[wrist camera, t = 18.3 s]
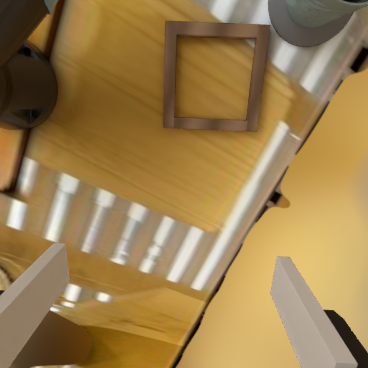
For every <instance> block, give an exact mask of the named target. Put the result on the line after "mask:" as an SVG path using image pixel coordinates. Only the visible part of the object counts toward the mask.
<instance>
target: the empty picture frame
mask: <svg viewBox="0 0 368 368" xmlns="http://www.w3.org/2000/svg"><path fill="white" fill-rule="evenodd" d="M269 32H270V25H260V24H234V23H208V22H182V21H165V72H164V126H163V127H164V128H185V129H206V130H227V131H248V132H257V125H258V117H259V110H260V102H261V94H262V86H263V79H264V71H265V63H266V55H267V48H268V40H269ZM177 36H182V37H207V38H232V39H255V48H254V57H253V65H252V74H251V83H250V91H249V100H248V109H247V118H246V120H224V119H203V118H182V117H174V115H175V82H176V50H177Z"/></svg>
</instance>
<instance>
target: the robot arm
mask: <svg viewBox="0 0 368 368" xmlns="http://www.w3.org/2000/svg"><path fill="white" fill-rule="evenodd" d="M57 1H58V0H0V128H4V129H10V130H21V129H28V128H33V127H35V126H38V125H40V124H41V123H43V122H44V121H45V120H46V119H47V118H48V117H49V116H50V114H51V113H52V111H53V109H54V107H55V104H56V100H57V82H56V78H55V74H54V71H53V69H52V67H51V65H50V63H49V61H48V60H47V58H46V57H45V56H44V54H43V53H42V52H41V51H40V50H39V49H38V48H37V47H36V46H35V45H33V44H32V43H31V42H29V41H27V39H28V38H29V37H30V35H31V34H32V33H33V32H34V30H35V29H36V28H37V27H38V25H39V24H40V23H41V22H42V20H43V19H44V18H45V17H46V15H47V14H49V15H51V14H52V12H53V7H54V5H55V4H56V3H57ZM69 281H70V279H69V270H68V261H67V252H66V244H57V243H53V244H52V245H51V246H50V247H49V248H48V249H47V250H46V251H45V252H44V253H43V254H42V255H41V256H40V257H39V258H38V259H37V260H36V261H35V262H34V263H33V264H32V265H31V266H30V267H29V268H28V269H27V270H26V271H25V272H24V273H23V274H22V275H21V276H20V277H19V278H18V279H17V280H16V281H15V282H14V283H13V284H12V285H10V286H9V287H8V288H7V289H6V290H5V291H3V290H0V368H9V366H10V365H11V363H12V362H13V360H14V359H15V358H16V356H17V355H18V353H19V352H20V351H21V349H22V348H23V346H24V345H25V344H26V342H27V341H28V339H29V338H30V336H31V335H32V334H33V332H34V331H35V329H36V328H37V327H38V325H39V324H40V322H41V321H42V319H43V318H44V317H45V315H46V314H47V312H48V311H49V310H50V308H51V307H52V305H53V304H54V302H55V301H56V300H57V298H58V297H59V295H60V294H61V293H62V291H63V290H64V288H65V287H66V285H67V284H68V283H69ZM270 294H271V296H272V298H273V301H274V303H275V306H276V308H277V310H278V313H279V315H280V318H281V320H282V323H283V325H284V328H285V330H286V332H287V335H288V337H289V340H290V342H291V345H292V347H293V349H294V352H295V354H296V357H297V359H298V361H299V364H300V366H301V368H368V353H367V351H366V350H365V349H364V347H363V346H362V344H361V343H360V342H359V340H358V339H357V337H356V336H355V334H354V333H353V332H352V331H351V329H350V327H349V326H348V324H347V323H346V322H345V320H344V319H343V318H342V317H340V316H339V315H338V314H337V313H336V312H335V311H334V310H323V309H322V307H321V306H320V304H319V302H318V301H317V300H316V298H315V296H314V295H313V293H312V291H311V290H310V288H309V287H308V285H307V284H306V282H305V280H304V279H303V277H302V276H301V274H300V273H299V271H298V270H297V268H296V266H295V265H294V263H293V262H292V260H291V258H290V257H280V256H277V259H276V264H275V270H274V275H273V281H272V287H271V293H270Z"/></svg>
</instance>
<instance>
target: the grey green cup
mask: <svg viewBox="0 0 368 368" xmlns="http://www.w3.org/2000/svg"><path fill="white" fill-rule="evenodd" d="M285 5H286V10H287V13H288V15H289V17H290V18H291V19H292V21H293V22H295V23H296V24H297V25H299V26H301V27H305V28H315V27H319V26H322V25H324V24H326V23H328V22H330V21H332V20H335V19H337V18H340V17H341V16H342V15H344V14H347V13H351V12H354V11H356V10H358V9H361V8H363V7H366V6H368V0H285Z"/></svg>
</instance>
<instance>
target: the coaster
mask: <svg viewBox="0 0 368 368" xmlns="http://www.w3.org/2000/svg"><path fill="white" fill-rule="evenodd" d="M268 9H269V16H270V19H271V22H272V25H273V27H274V29H275V30H276V32H277V33H278V34H279V35H280V37H282V38H283V39H284V40H285V41H287V42H288V43H291V44H293V45H296V46H302V47H310V46H315V45H318V44H321V43H323V42H325V41H327V40H329V39H331V38H332V37H334V36H335V35H336V34H338V33H339V32H340V31H341V30H342V29H343V28H344V26H345V25H346V24H347V22H348V21H349V19H350V18H351V16H352V14H353V12H351V13H347V14H344V15H342V16H341V17H340V18H337V19H335V20H332V21H330V22H328V23H326V24H324V25H322V26H319V27H315V28H305V27H301V26H299V25H297V24H296V23H295V22H293V21H292V19H291V18H290V17H289V15H288V13H287V10H286V5H285V0H268Z"/></svg>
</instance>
